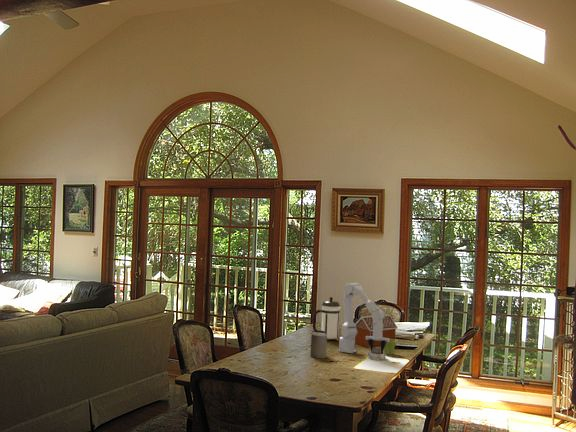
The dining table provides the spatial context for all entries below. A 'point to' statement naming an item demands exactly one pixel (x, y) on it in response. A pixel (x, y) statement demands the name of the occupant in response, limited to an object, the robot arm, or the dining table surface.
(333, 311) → the coffee press
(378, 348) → the cap
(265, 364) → the dining table surface
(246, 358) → the dining table surface
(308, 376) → the dining table surface
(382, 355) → the faceted ring
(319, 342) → the pillar candle
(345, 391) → the dining table surface
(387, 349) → the plant pot
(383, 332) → the gingerbread house
